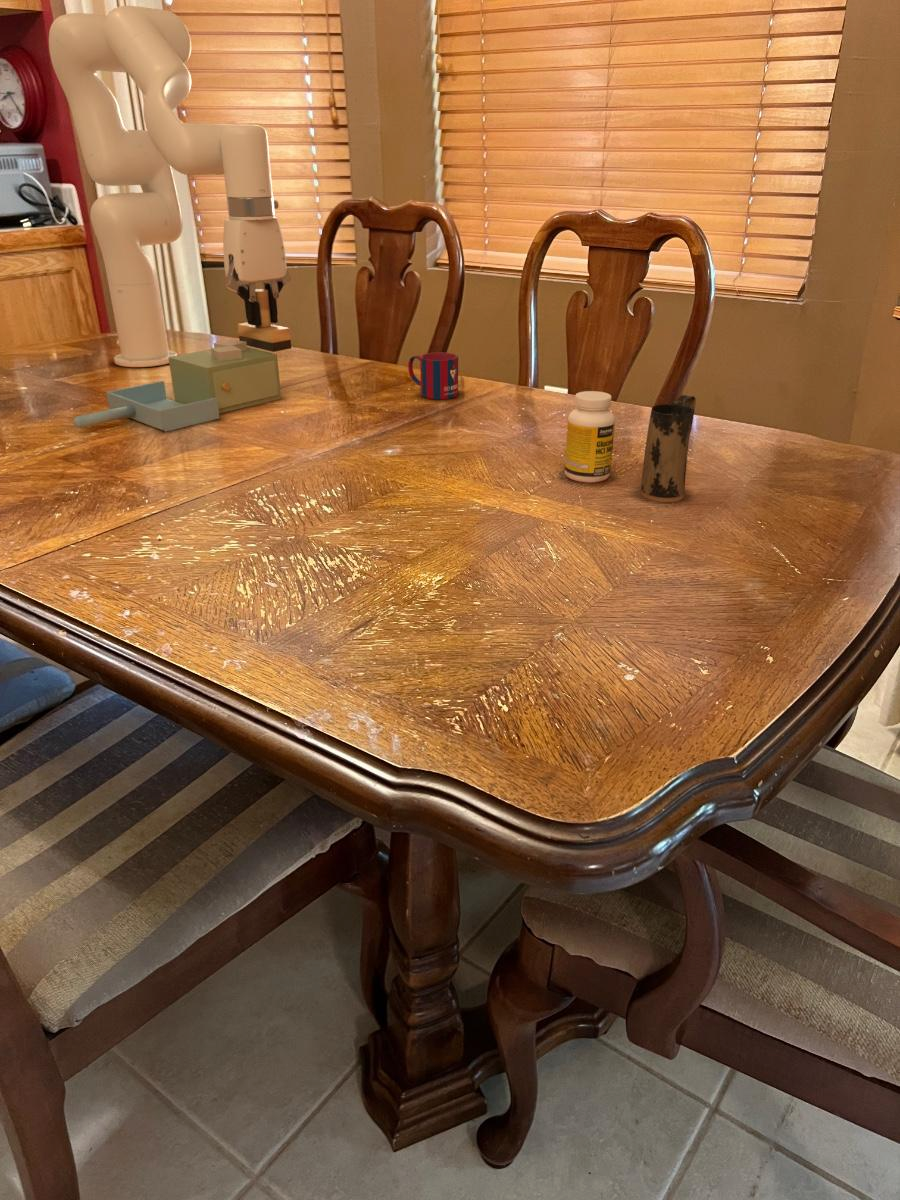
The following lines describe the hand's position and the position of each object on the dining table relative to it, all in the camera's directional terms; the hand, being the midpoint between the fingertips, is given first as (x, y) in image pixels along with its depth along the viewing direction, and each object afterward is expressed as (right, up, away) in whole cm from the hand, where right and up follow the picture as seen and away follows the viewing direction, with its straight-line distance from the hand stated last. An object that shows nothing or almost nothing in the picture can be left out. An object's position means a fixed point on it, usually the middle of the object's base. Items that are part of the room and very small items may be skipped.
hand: (262, 322), depth 151 cm
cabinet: (-6, -14, 0) cm, 15 cm away
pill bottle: (+52, -32, -35) cm, 70 cm away
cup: (+30, -12, +4) cm, 32 cm away
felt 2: (-5, -8, -5) cm, 11 cm away
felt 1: (-5, -5, -1) cm, 8 cm away
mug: (+61, -35, -40) cm, 81 cm away
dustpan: (-18, -20, -11) cm, 29 cm away
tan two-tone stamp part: (0, -4, +2) cm, 4 cm away
